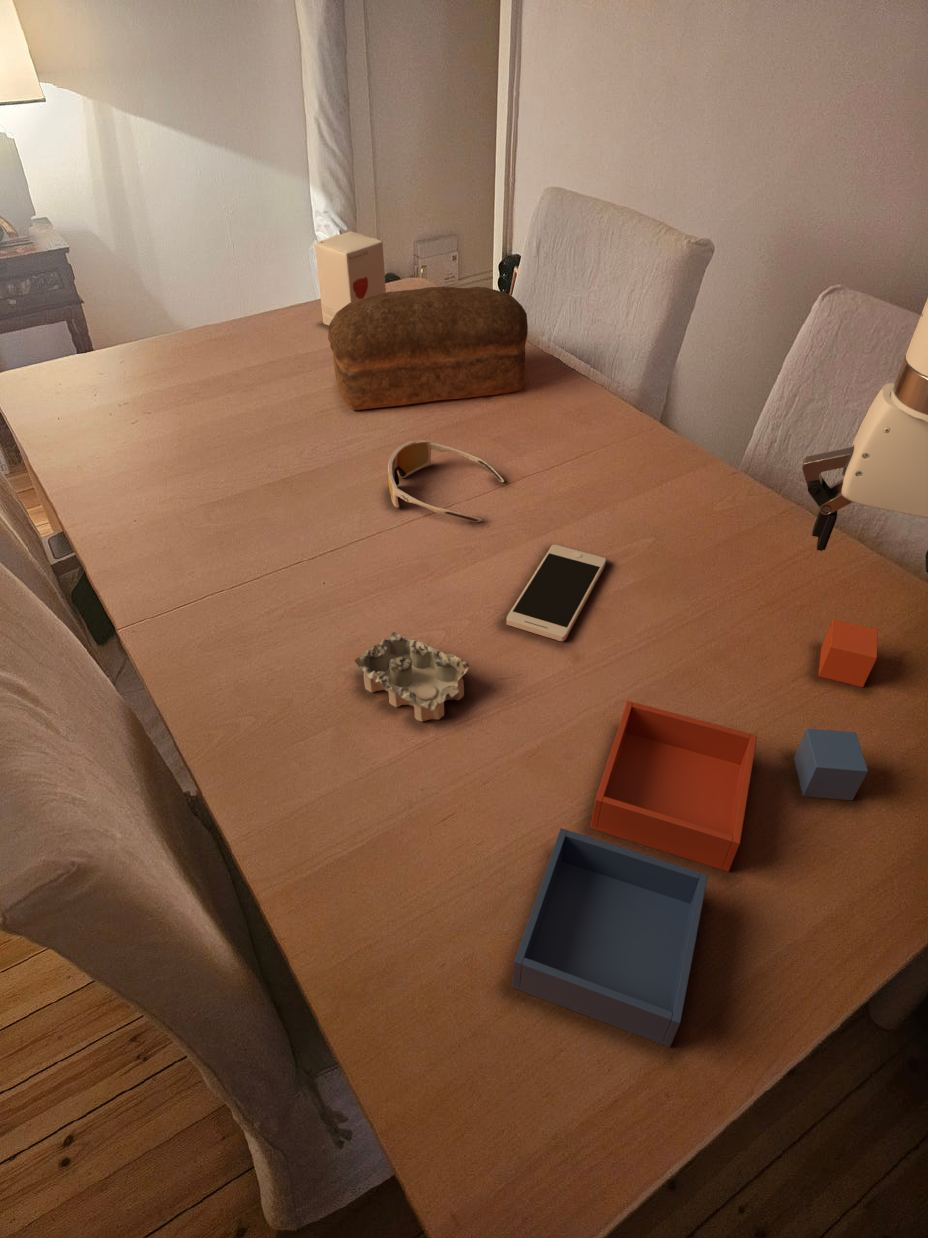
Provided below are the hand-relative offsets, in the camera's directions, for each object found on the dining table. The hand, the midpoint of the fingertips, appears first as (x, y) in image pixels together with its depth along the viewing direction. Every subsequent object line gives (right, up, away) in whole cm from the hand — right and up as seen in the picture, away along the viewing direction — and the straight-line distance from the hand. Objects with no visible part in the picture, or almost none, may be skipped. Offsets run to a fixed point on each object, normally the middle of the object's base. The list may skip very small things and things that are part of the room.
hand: (874, 553), depth 78 cm
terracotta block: (+2, -11, +11) cm, 16 cm away
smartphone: (-28, -3, +20) cm, 34 cm away
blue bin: (-27, -32, -12) cm, 44 cm away
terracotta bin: (-20, -23, -1) cm, 30 cm away
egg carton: (-44, -14, +9) cm, 47 cm away
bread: (-44, +33, +60) cm, 81 cm away
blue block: (-5, -21, 0) cm, 22 cm away
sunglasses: (-42, +11, +36) cm, 56 cm away
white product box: (-59, +50, +78) cm, 110 cm away
